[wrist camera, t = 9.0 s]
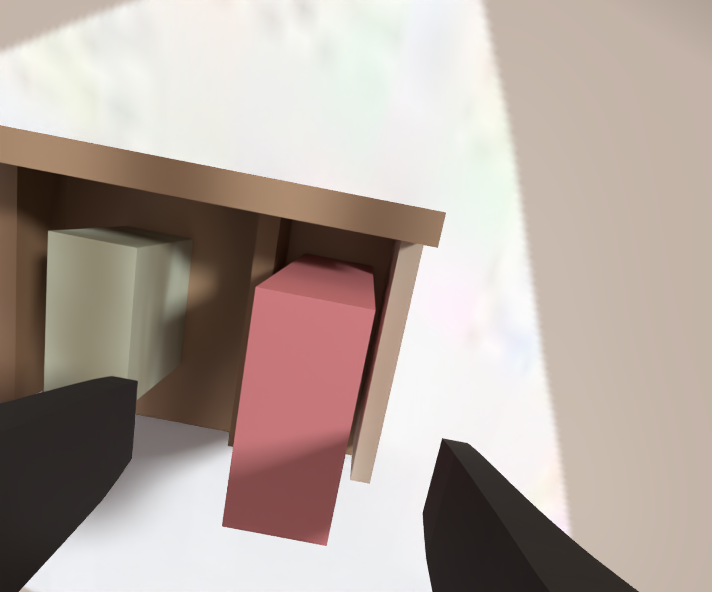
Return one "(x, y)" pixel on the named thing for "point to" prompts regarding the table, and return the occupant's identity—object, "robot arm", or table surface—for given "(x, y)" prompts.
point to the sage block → (114, 305)
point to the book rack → (201, 265)
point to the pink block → (299, 397)
